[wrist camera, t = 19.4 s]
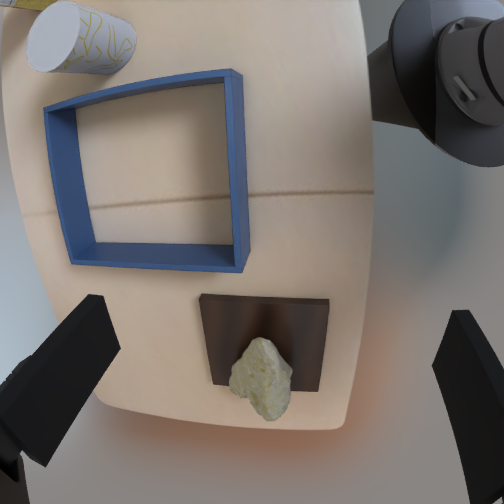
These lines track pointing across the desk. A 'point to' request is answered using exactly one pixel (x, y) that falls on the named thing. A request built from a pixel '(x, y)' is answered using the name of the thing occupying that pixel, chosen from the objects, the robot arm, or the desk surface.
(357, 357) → the desk surface
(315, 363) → the board
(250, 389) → the pale grey rough stone
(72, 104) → the blue rectangular frame
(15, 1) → the candy box
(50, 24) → the white cylinder
